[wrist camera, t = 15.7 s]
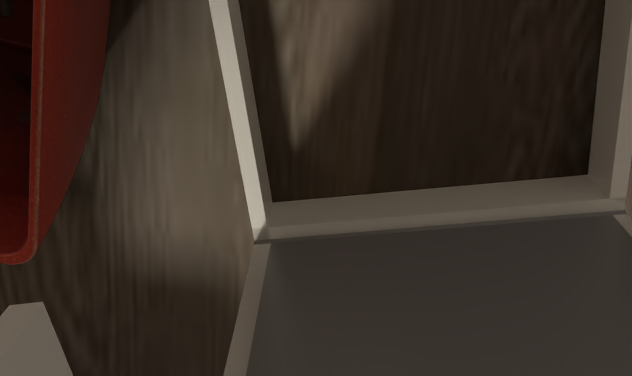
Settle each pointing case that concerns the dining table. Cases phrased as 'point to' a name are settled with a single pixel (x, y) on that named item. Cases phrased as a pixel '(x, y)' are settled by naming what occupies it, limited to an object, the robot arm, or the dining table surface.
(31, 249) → the plant pot
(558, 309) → the case
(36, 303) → the robot arm
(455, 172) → the dining table surface
